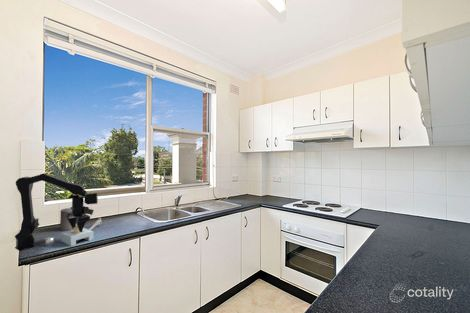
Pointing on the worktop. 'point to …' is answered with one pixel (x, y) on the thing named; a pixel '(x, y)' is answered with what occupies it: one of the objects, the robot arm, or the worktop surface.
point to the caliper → (96, 223)
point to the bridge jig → (76, 236)
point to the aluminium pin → (49, 241)
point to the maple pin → (76, 231)
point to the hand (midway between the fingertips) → (77, 230)
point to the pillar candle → (65, 220)
